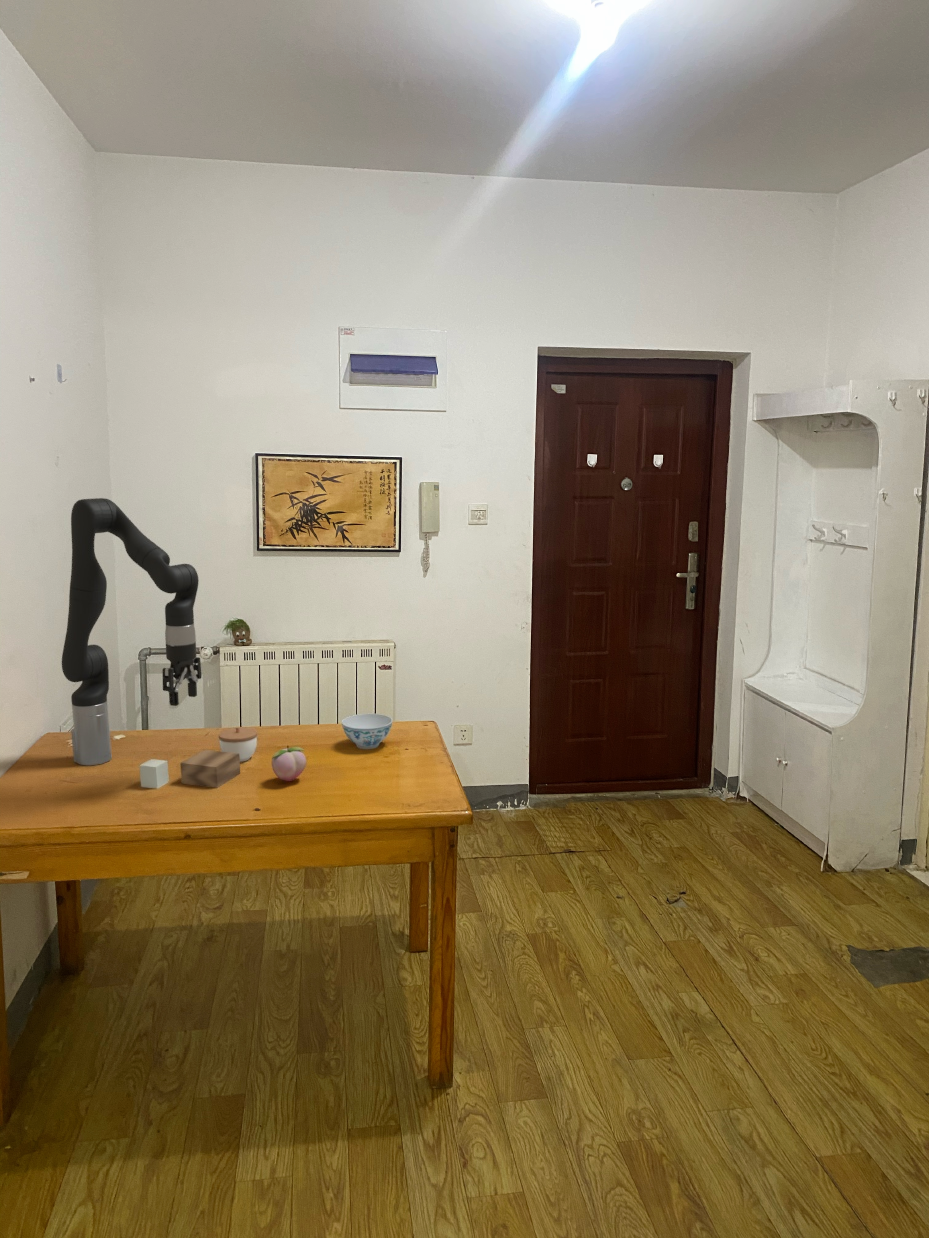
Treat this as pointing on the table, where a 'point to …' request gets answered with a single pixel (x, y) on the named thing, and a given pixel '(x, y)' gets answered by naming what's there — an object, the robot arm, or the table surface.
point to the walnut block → (210, 768)
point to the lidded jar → (239, 741)
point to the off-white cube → (154, 773)
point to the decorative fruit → (288, 763)
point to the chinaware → (367, 729)
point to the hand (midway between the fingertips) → (183, 700)
